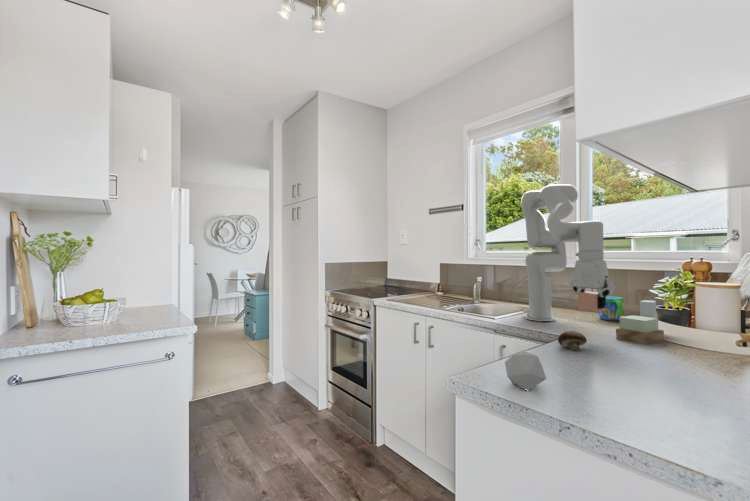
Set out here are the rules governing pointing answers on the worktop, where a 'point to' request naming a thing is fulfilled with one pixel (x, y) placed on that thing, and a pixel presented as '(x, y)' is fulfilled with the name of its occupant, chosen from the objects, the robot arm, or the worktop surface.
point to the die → (525, 370)
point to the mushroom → (572, 340)
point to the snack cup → (612, 309)
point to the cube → (588, 301)
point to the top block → (639, 323)
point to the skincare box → (648, 309)
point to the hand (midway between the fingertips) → (591, 306)
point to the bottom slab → (640, 336)
